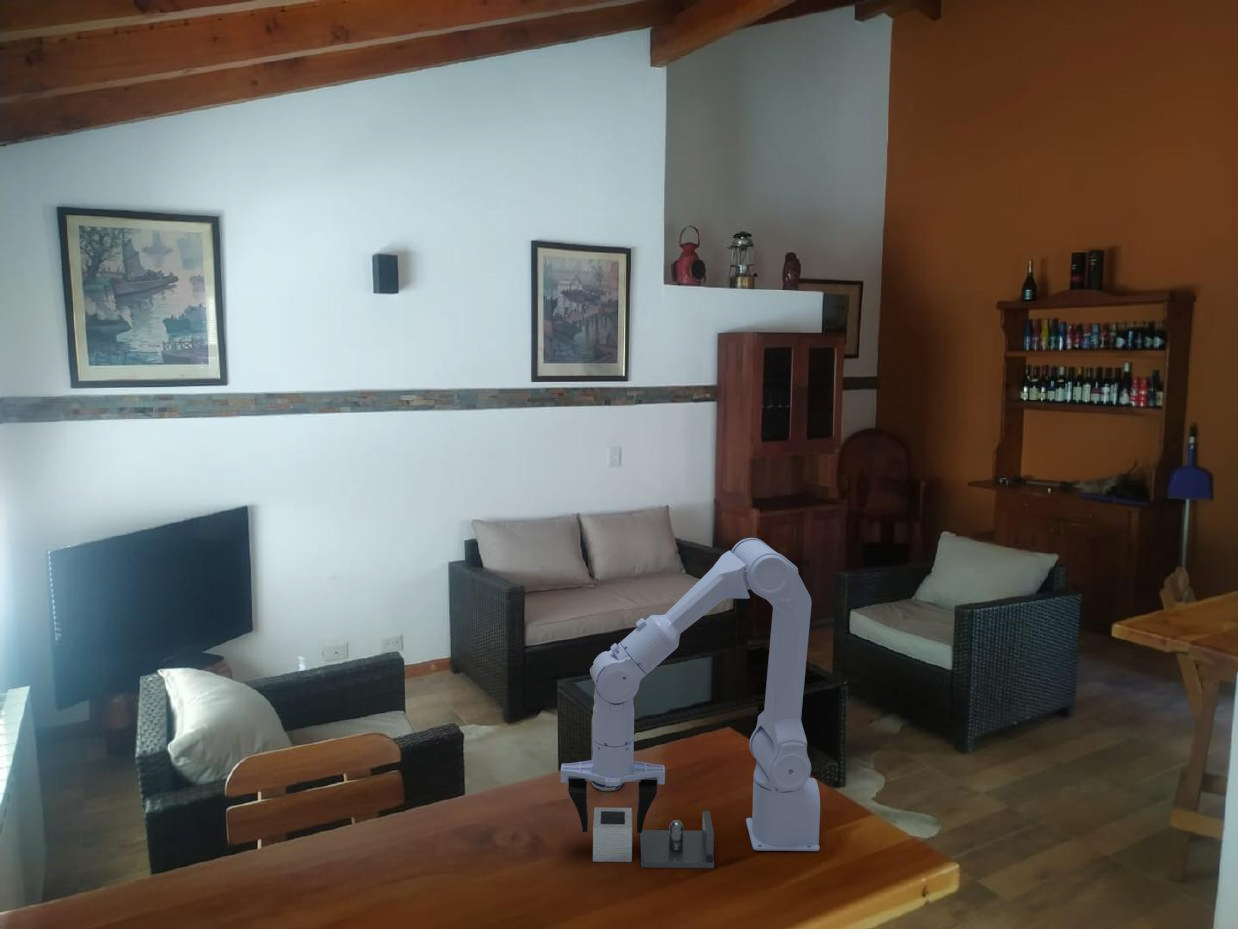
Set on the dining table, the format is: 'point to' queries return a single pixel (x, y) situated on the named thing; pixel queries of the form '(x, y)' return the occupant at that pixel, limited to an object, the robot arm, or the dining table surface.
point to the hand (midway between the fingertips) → (612, 828)
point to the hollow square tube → (612, 835)
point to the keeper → (678, 846)
